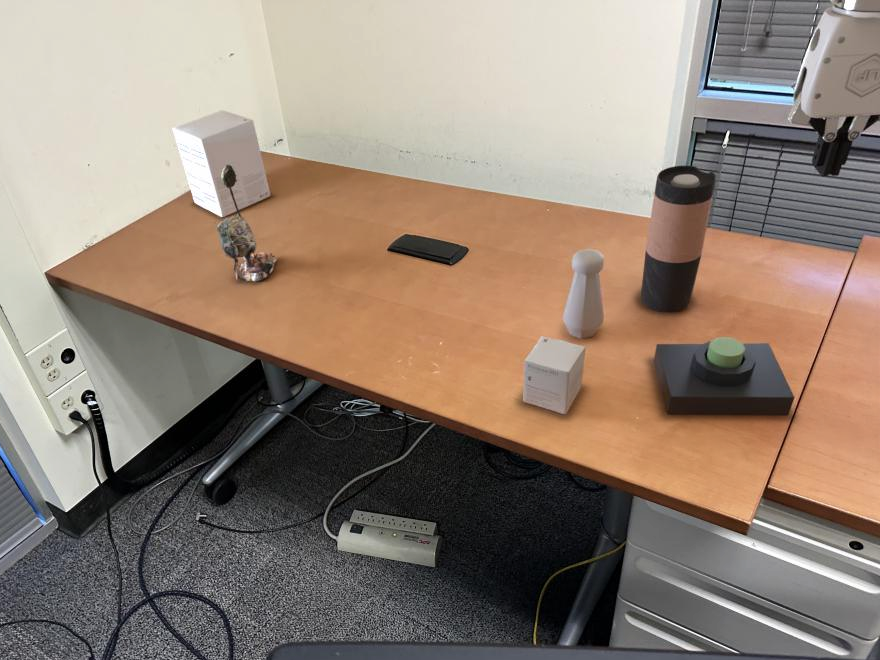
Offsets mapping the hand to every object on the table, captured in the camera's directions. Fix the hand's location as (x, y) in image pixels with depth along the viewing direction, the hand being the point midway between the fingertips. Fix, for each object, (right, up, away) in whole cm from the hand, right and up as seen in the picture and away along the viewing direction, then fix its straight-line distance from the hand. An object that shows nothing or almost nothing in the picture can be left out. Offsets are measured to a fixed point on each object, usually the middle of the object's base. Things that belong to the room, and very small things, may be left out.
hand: (825, 171), depth 79 cm
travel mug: (-7, -12, +27) cm, 30 cm away
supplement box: (-84, +18, +78) cm, 116 cm away
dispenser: (-7, -25, +11) cm, 28 cm away
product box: (-28, -26, +14) cm, 41 cm away
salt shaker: (-21, -17, +24) cm, 36 cm away
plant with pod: (-74, -4, +50) cm, 90 cm away
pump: (-8, -22, +8) cm, 24 cm away
